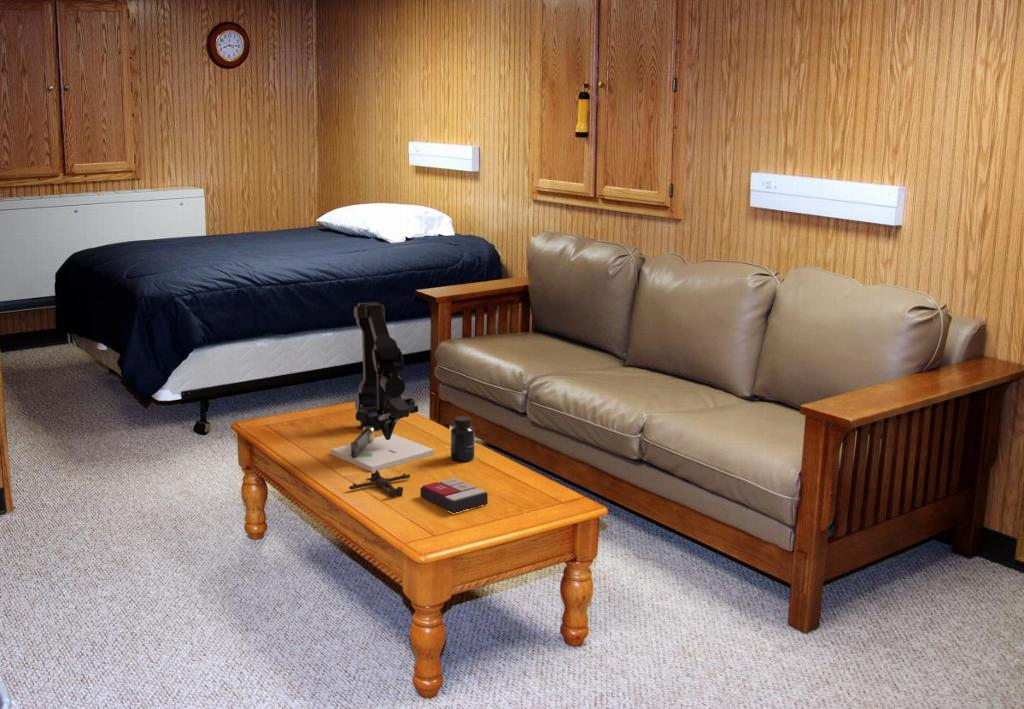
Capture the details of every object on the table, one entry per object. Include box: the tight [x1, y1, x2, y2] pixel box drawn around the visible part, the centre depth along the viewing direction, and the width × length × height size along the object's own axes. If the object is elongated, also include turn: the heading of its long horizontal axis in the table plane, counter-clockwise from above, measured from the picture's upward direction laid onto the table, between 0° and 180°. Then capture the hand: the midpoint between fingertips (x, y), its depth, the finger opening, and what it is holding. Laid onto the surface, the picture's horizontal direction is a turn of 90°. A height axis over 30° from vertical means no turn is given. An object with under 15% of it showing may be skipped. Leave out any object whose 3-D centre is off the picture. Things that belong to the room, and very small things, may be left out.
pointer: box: [350, 426, 375, 457], centre depth 311 cm, size 16×3×4 cm, turn 171°
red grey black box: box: [420, 477, 489, 513], centre depth 278 cm, size 11×4×15 cm
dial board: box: [330, 433, 435, 473], centre depth 312 cm, size 20×22×2 cm
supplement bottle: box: [450, 416, 476, 463], centre depth 308 cm, size 7×7×12 cm
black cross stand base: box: [348, 470, 411, 499], centre depth 285 cm, size 18×4×14 cm
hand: (387, 439), depth 312 cm, fingers closed
